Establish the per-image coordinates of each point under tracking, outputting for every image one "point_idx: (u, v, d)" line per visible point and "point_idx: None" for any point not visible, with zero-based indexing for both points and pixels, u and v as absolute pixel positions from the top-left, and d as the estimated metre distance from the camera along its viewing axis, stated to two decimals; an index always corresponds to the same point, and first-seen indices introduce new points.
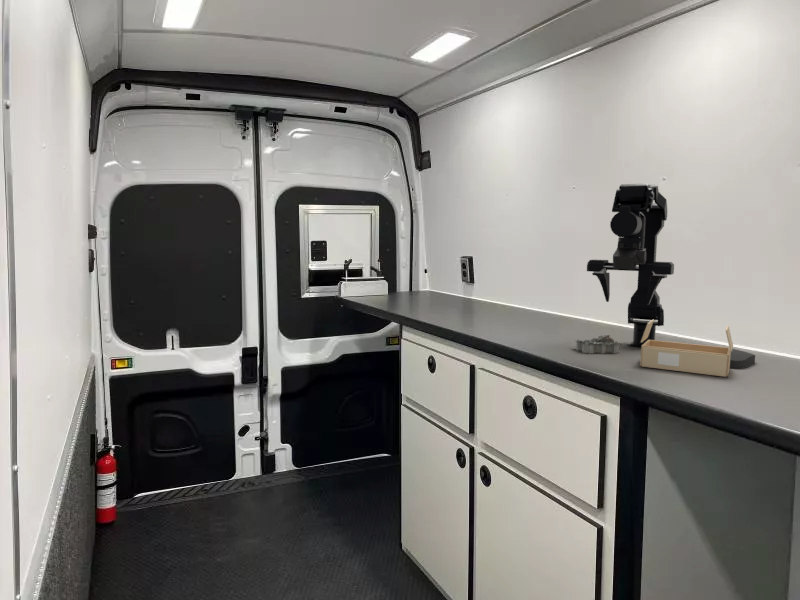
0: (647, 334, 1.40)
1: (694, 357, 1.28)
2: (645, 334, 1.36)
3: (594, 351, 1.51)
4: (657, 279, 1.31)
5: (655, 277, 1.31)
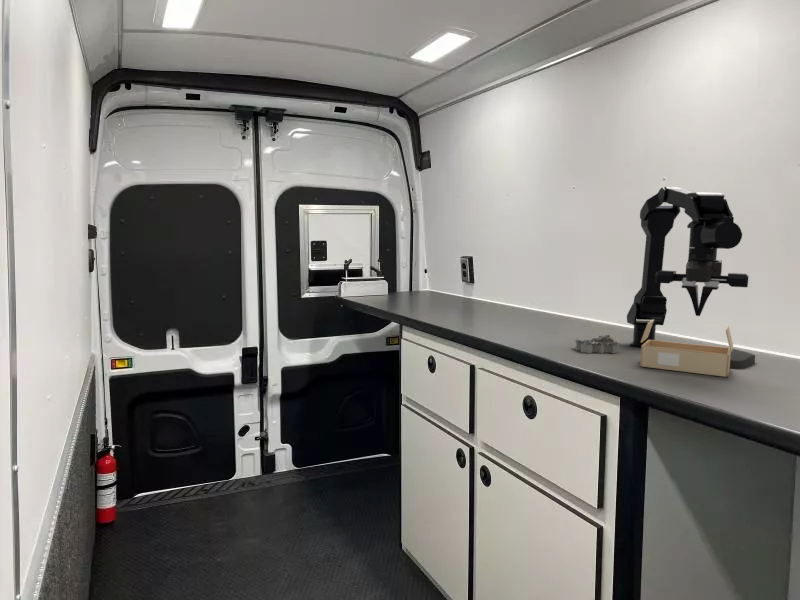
0: (647, 334, 1.40)
1: (694, 357, 1.28)
2: (645, 334, 1.36)
3: (593, 351, 1.52)
4: (709, 290, 1.28)
5: (708, 288, 1.28)
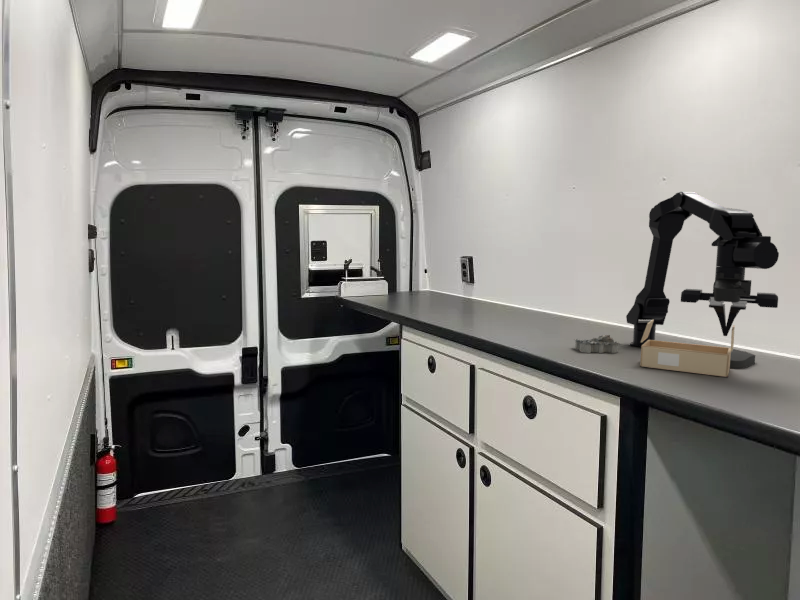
0: (647, 334, 1.40)
1: (694, 357, 1.28)
2: (645, 334, 1.36)
3: (592, 351, 1.52)
4: (737, 310, 1.26)
5: (735, 308, 1.26)
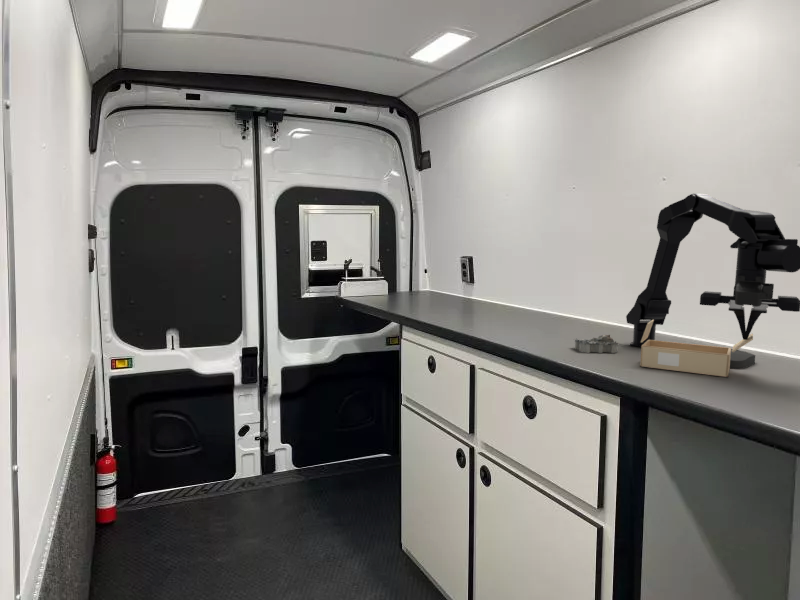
0: (647, 334, 1.40)
1: (694, 357, 1.28)
2: (645, 334, 1.36)
3: (592, 351, 1.52)
4: (758, 314, 1.24)
5: (756, 312, 1.24)
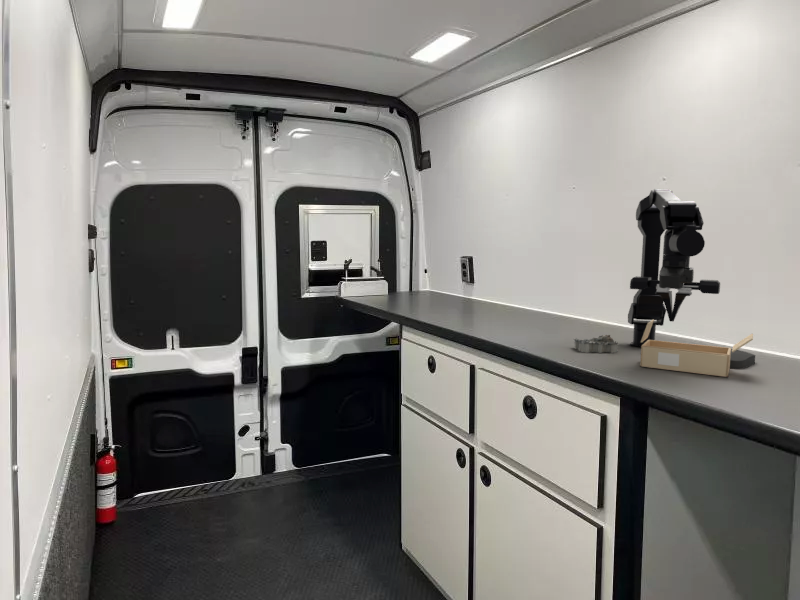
0: (647, 334, 1.40)
1: (694, 357, 1.28)
2: (645, 334, 1.36)
3: (591, 351, 1.53)
4: (682, 297, 1.32)
5: (680, 295, 1.31)
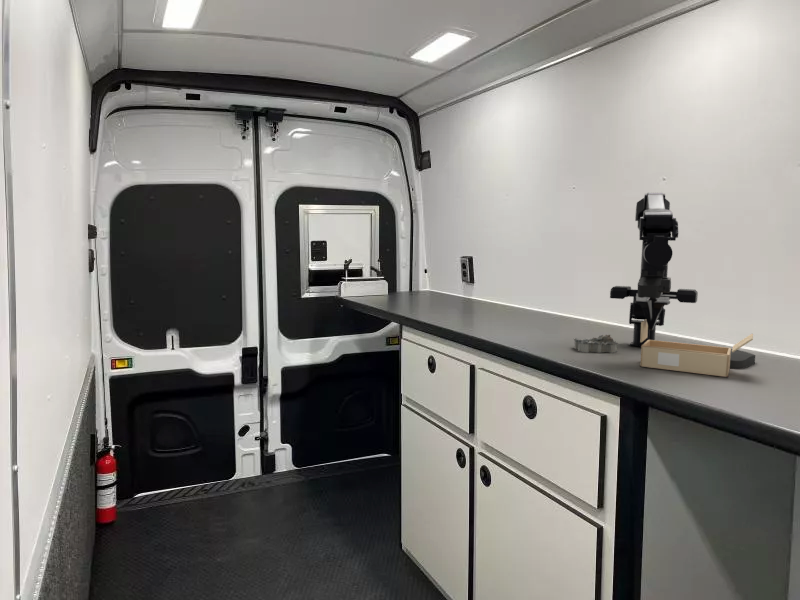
0: (645, 333, 1.40)
1: (694, 357, 1.28)
2: (642, 333, 1.36)
3: (591, 350, 1.53)
4: (660, 306, 1.34)
5: (658, 304, 1.34)
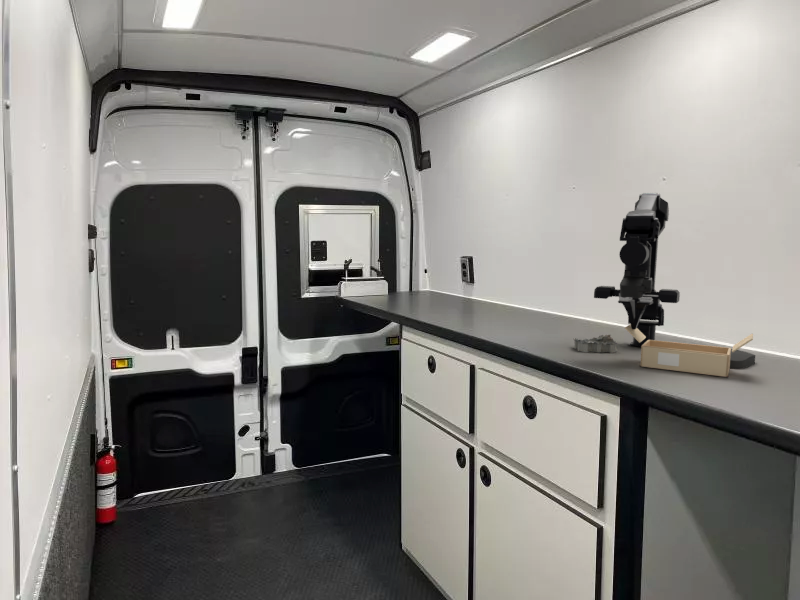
0: (640, 335, 1.40)
1: (694, 357, 1.28)
2: (635, 335, 1.37)
3: (590, 350, 1.53)
4: (643, 305, 1.36)
5: (641, 304, 1.36)
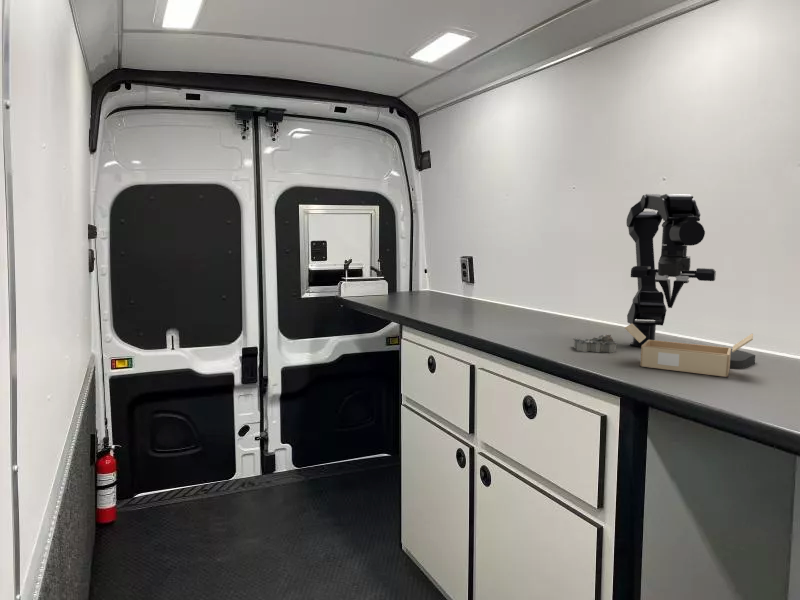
0: (640, 335, 1.40)
1: (694, 357, 1.28)
2: (635, 335, 1.37)
3: (589, 350, 1.53)
4: (680, 284, 1.40)
5: (678, 282, 1.39)
